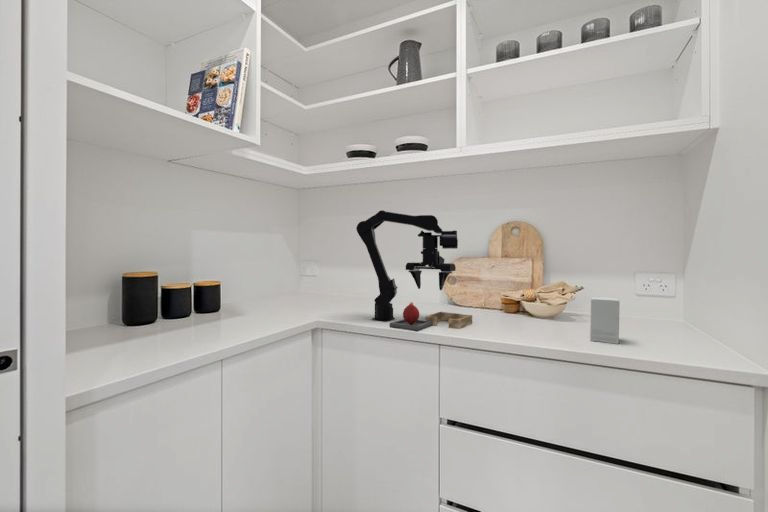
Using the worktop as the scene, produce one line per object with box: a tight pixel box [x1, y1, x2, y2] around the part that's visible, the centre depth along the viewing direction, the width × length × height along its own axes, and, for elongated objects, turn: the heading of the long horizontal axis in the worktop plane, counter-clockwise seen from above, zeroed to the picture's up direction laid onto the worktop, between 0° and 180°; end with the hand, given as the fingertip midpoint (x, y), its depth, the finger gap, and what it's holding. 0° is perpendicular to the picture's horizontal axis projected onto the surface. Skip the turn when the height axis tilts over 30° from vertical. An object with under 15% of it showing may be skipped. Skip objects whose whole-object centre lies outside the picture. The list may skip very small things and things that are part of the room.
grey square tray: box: [389, 318, 434, 332], centre depth 129 cm, size 11×11×2 cm
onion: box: [402, 301, 420, 325], centre depth 129 cm, size 6×6×8 cm
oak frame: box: [425, 311, 473, 330], centre depth 134 cm, size 13×12×3 cm
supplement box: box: [589, 296, 620, 345], centre depth 110 cm, size 7×7×13 cm
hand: (429, 289), depth 139 cm, fingers open, 9 cm apart
